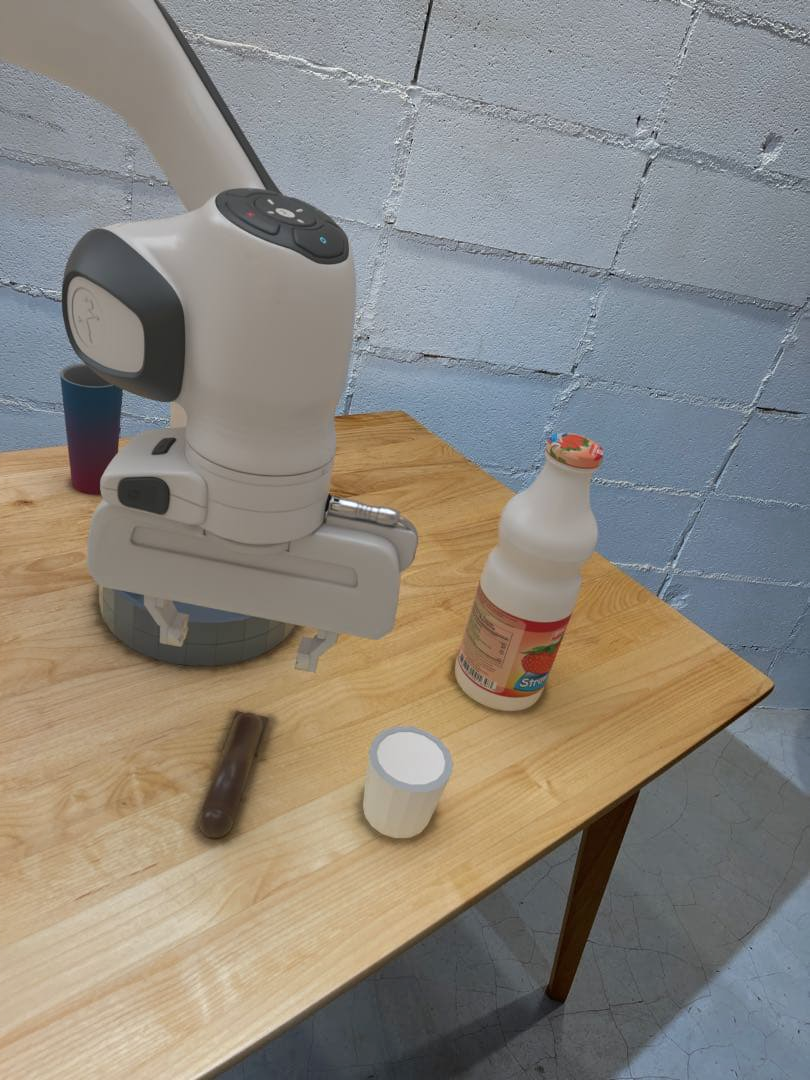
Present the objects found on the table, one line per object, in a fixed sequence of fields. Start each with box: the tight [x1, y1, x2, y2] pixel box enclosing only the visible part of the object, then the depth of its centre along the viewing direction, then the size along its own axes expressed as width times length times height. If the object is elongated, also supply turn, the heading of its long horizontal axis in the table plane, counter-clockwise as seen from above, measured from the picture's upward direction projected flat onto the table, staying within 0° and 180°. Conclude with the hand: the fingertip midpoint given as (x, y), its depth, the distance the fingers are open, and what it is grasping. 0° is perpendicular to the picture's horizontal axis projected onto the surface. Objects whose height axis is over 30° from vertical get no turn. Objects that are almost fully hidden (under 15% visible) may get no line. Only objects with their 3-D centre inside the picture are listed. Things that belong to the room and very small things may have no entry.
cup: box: [59, 362, 124, 496], centre depth 97 cm, size 7×7×15 cm
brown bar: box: [198, 710, 270, 839], centre depth 68 cm, size 13×3×3 cm, turn 175°
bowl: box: [98, 584, 296, 667], centre depth 85 cm, size 20×20×6 cm
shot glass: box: [362, 725, 454, 839], centre depth 67 cm, size 7×7×7 cm
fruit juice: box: [454, 431, 604, 712], centre depth 78 cm, size 9×9×28 cm
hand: (240, 652), depth 57 cm, fingers open, 8 cm apart
